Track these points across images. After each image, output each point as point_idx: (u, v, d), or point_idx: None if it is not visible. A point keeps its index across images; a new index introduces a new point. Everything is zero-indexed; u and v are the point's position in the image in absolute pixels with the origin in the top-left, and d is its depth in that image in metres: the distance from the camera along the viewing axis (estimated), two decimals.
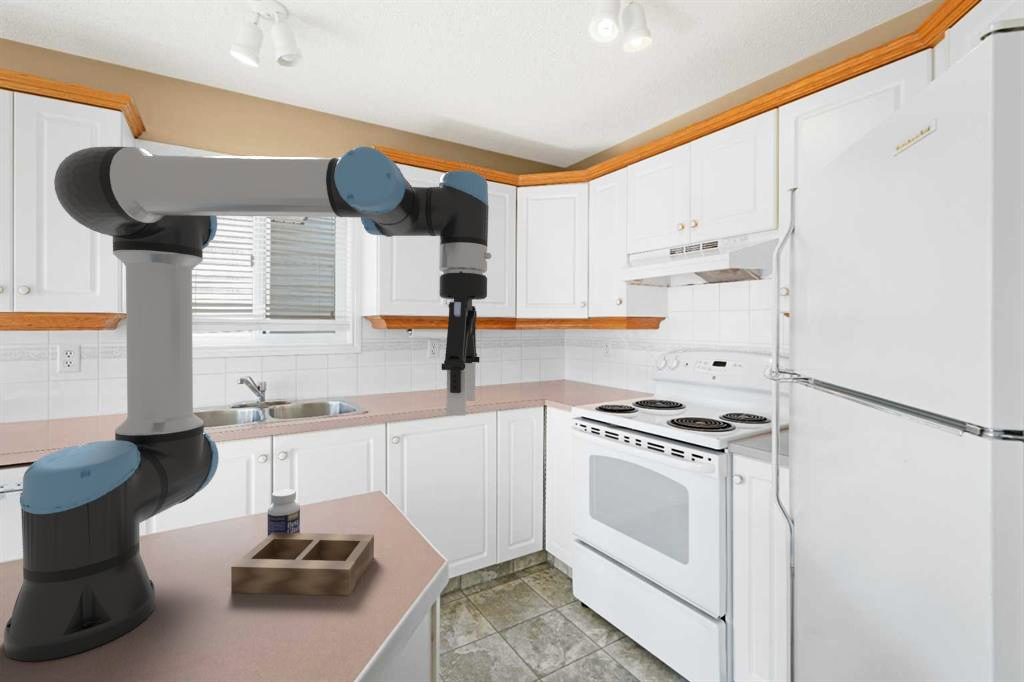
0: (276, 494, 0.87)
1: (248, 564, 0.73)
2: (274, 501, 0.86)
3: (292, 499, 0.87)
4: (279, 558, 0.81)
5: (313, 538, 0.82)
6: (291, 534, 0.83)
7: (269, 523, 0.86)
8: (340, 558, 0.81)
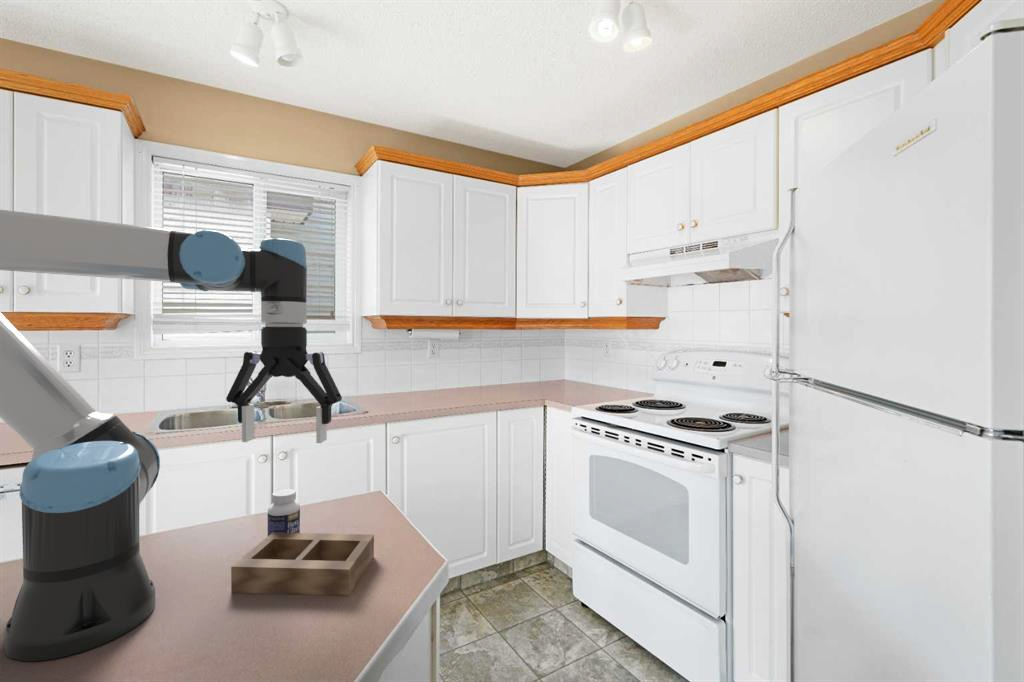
0: (276, 494, 0.87)
1: (248, 564, 0.73)
2: (274, 501, 0.86)
3: (292, 499, 0.87)
4: (279, 558, 0.81)
5: (313, 538, 0.82)
6: (291, 534, 0.83)
7: (269, 523, 0.86)
8: (340, 558, 0.81)
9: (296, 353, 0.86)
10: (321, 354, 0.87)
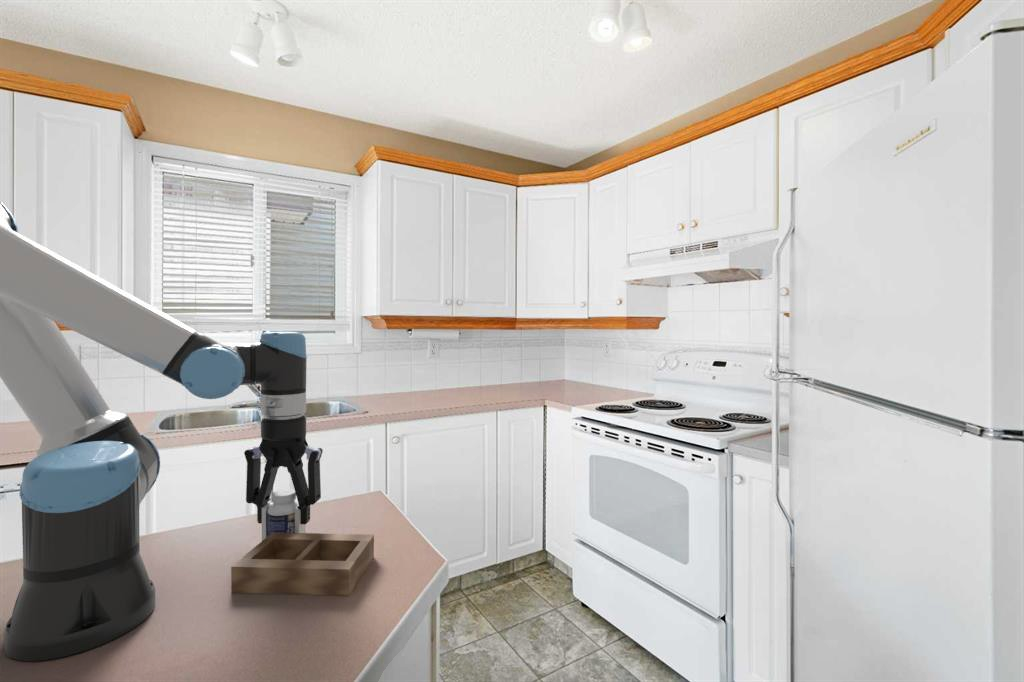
0: (276, 494, 0.87)
1: (248, 564, 0.73)
2: (274, 501, 0.86)
3: (292, 499, 0.87)
4: (279, 558, 0.81)
5: (313, 538, 0.82)
6: (291, 534, 0.83)
7: (269, 523, 0.86)
8: (340, 558, 0.81)
9: (297, 444, 0.86)
10: (320, 452, 0.87)
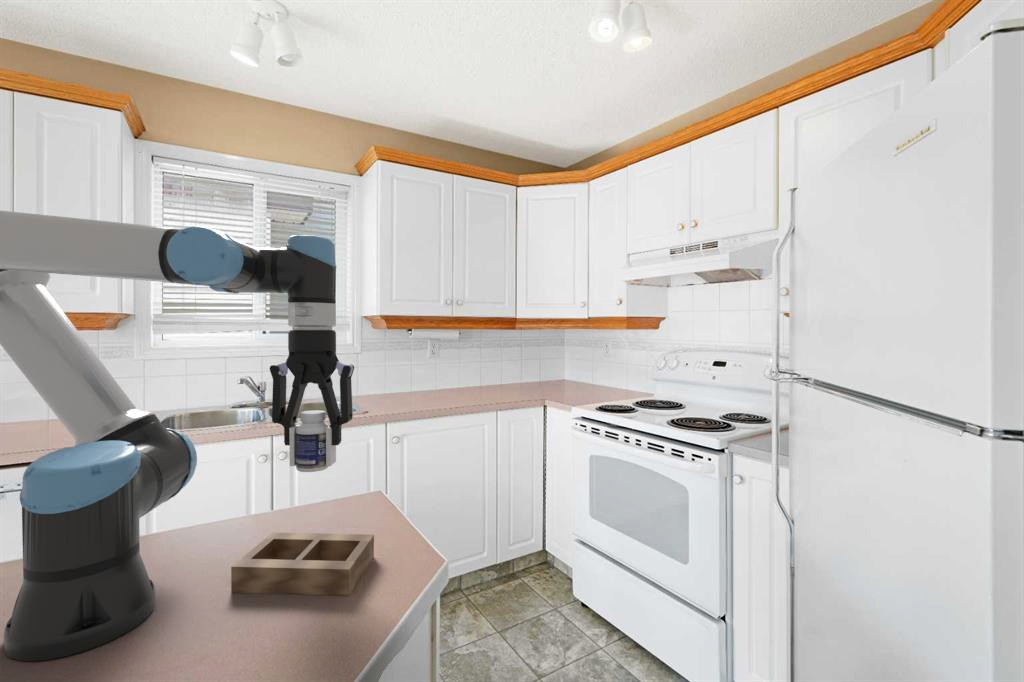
0: (305, 412, 0.80)
1: (248, 564, 0.73)
2: (303, 420, 0.80)
3: (322, 418, 0.81)
4: (279, 558, 0.81)
5: (313, 538, 0.82)
6: (291, 534, 0.83)
7: (298, 443, 0.79)
8: (340, 558, 0.81)
9: (328, 358, 0.80)
10: (352, 368, 0.81)
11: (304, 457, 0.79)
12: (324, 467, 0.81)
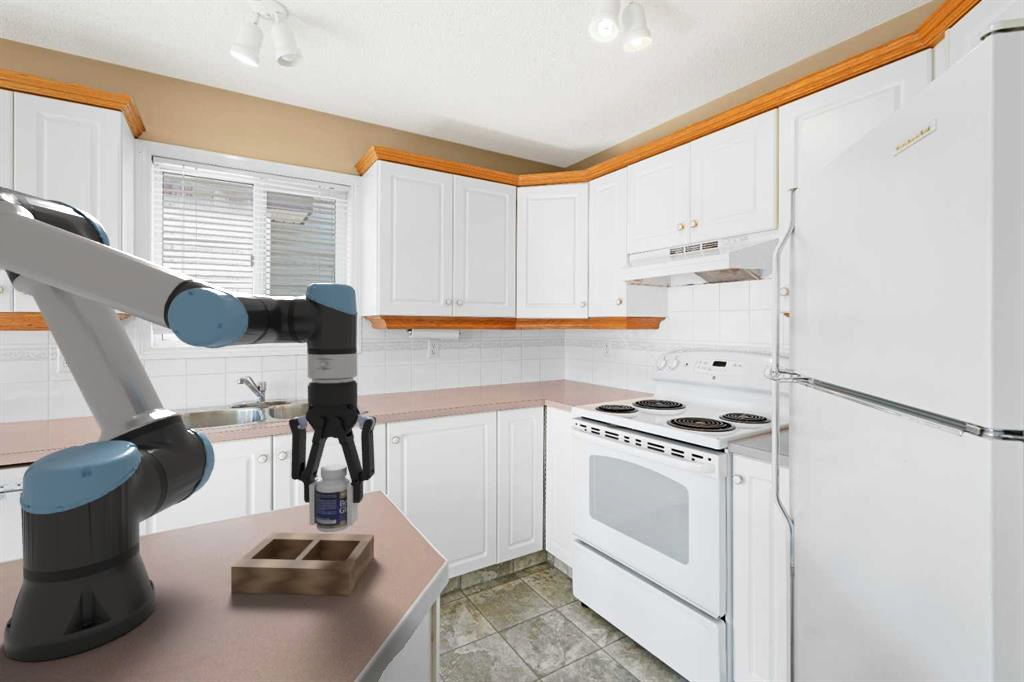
0: (325, 468, 0.76)
1: (248, 564, 0.73)
2: (324, 476, 0.76)
3: (344, 474, 0.77)
4: (279, 558, 0.81)
5: (313, 538, 0.82)
6: (291, 534, 0.83)
7: (319, 501, 0.75)
8: (340, 558, 0.81)
9: (349, 411, 0.76)
10: (374, 421, 0.77)
11: (324, 516, 0.75)
12: (345, 526, 0.76)
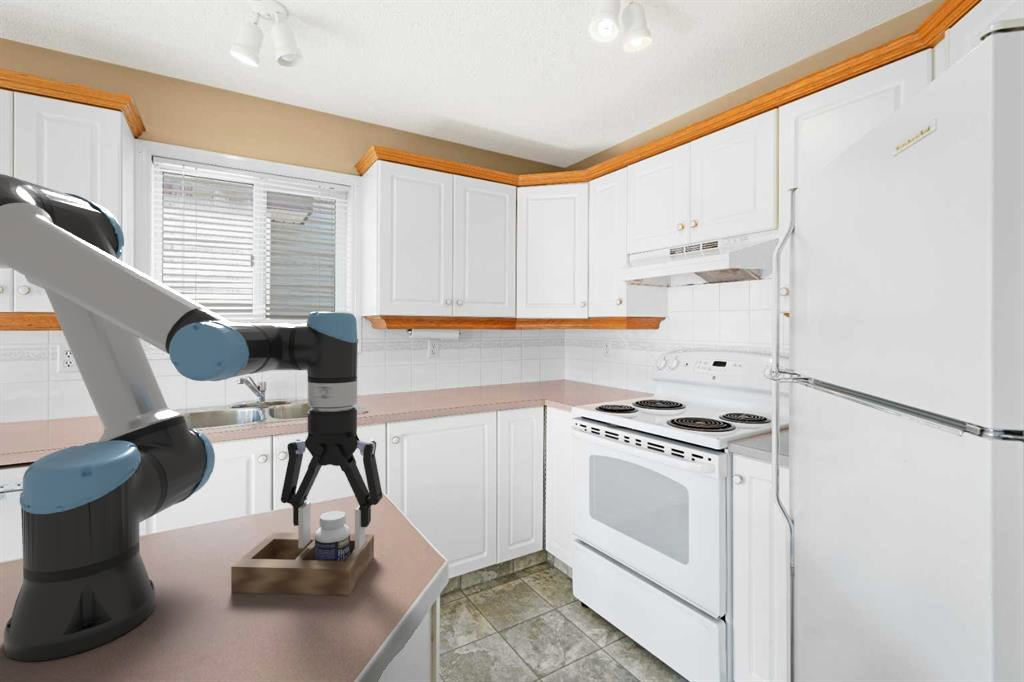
0: (324, 517, 0.76)
1: (248, 564, 0.73)
2: (323, 526, 0.76)
3: (342, 523, 0.77)
4: (279, 558, 0.81)
5: (313, 538, 0.82)
6: (291, 534, 0.83)
7: (317, 551, 0.75)
8: None
9: (348, 439, 0.76)
10: (374, 445, 0.77)
11: None
12: None
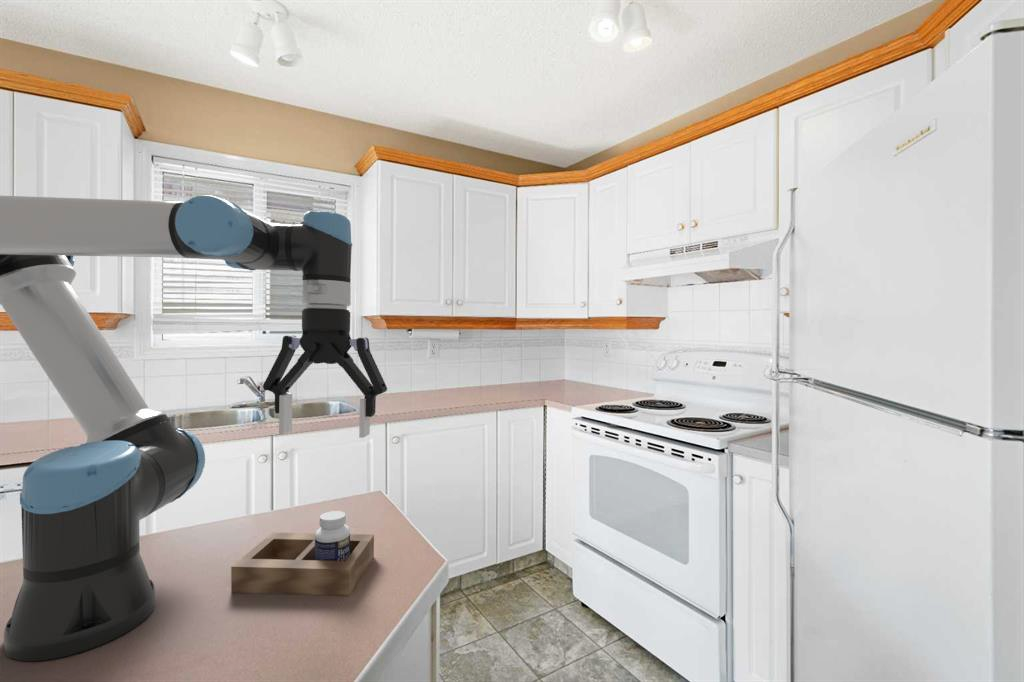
0: (324, 517, 0.77)
1: (248, 564, 0.73)
2: (323, 526, 0.76)
3: (342, 523, 0.77)
4: (279, 558, 0.81)
5: (313, 538, 0.82)
6: (291, 534, 0.83)
7: (317, 551, 0.75)
8: None
9: (339, 338, 0.78)
10: (365, 339, 0.79)
11: None
12: None
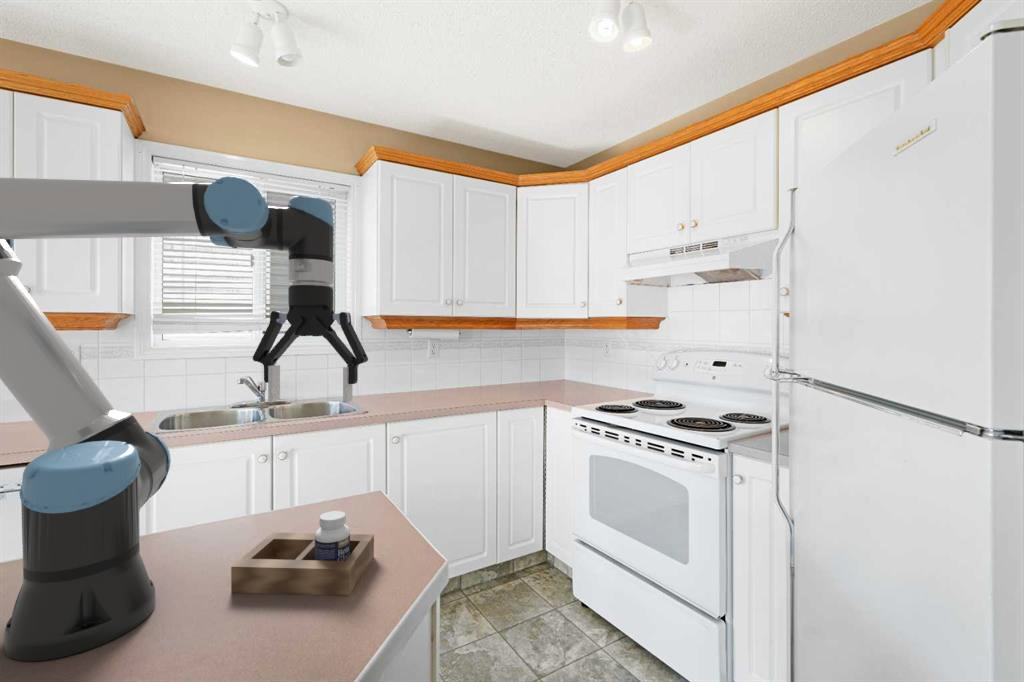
0: (324, 517, 0.77)
1: (248, 564, 0.73)
2: (322, 526, 0.76)
3: (342, 523, 0.77)
4: (279, 558, 0.81)
5: (313, 538, 0.82)
6: (291, 534, 0.83)
7: (317, 551, 0.75)
8: None
9: (323, 312, 0.85)
10: (348, 314, 0.87)
11: None
12: None
